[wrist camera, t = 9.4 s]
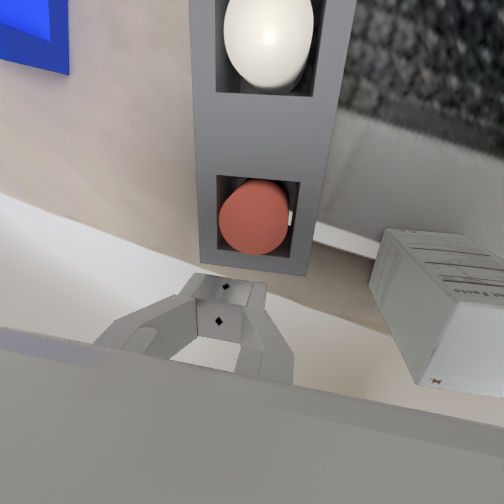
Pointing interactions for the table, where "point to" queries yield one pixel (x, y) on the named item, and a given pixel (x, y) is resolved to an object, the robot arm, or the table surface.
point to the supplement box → (443, 308)
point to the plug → (269, 42)
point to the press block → (262, 133)
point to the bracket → (35, 33)
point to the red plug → (256, 216)
